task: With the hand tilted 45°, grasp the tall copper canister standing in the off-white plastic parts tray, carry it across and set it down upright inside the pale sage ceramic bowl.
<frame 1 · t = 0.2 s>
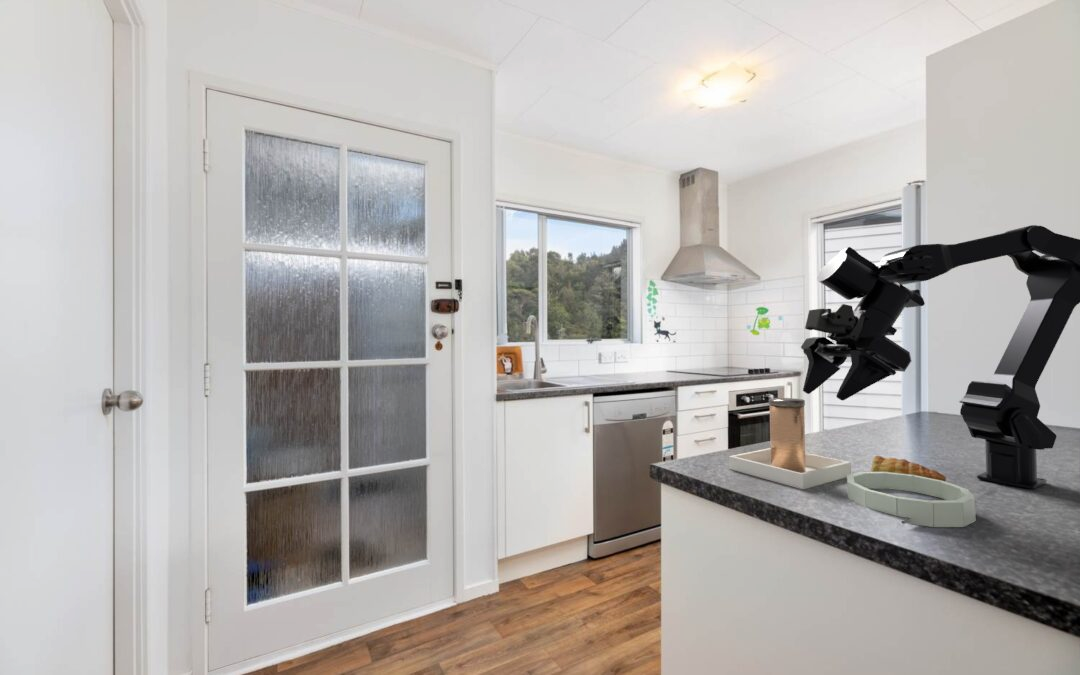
hand: (821, 395, 74), 14 cm above the counter, tool tilted 35°, fingers open, 9 cm apart
canister: (788, 472, 78), point 1 cm above the counter, touching parts tray
pastry: (901, 483, 75), on the counter
bowl: (906, 507, 63), on the counter
parts tray: (788, 476, 78), on the counter
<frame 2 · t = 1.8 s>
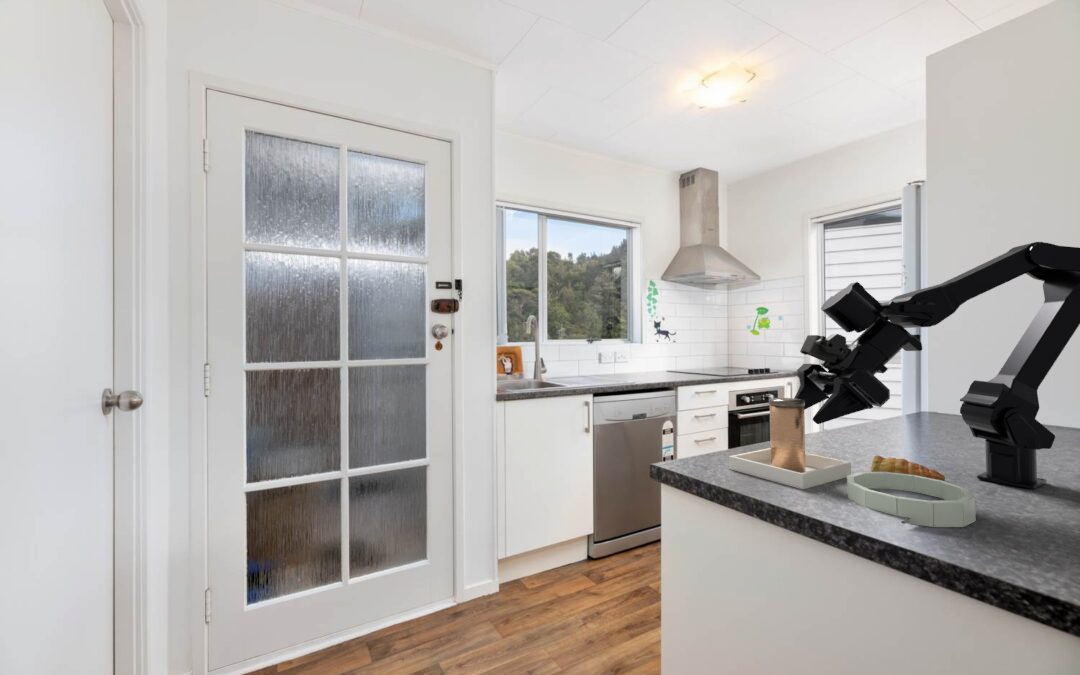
hand: (801, 417, 78), 10 cm above the counter, tool tilted 45°, fingers open, 9 cm apart
nothing on the counter moved.
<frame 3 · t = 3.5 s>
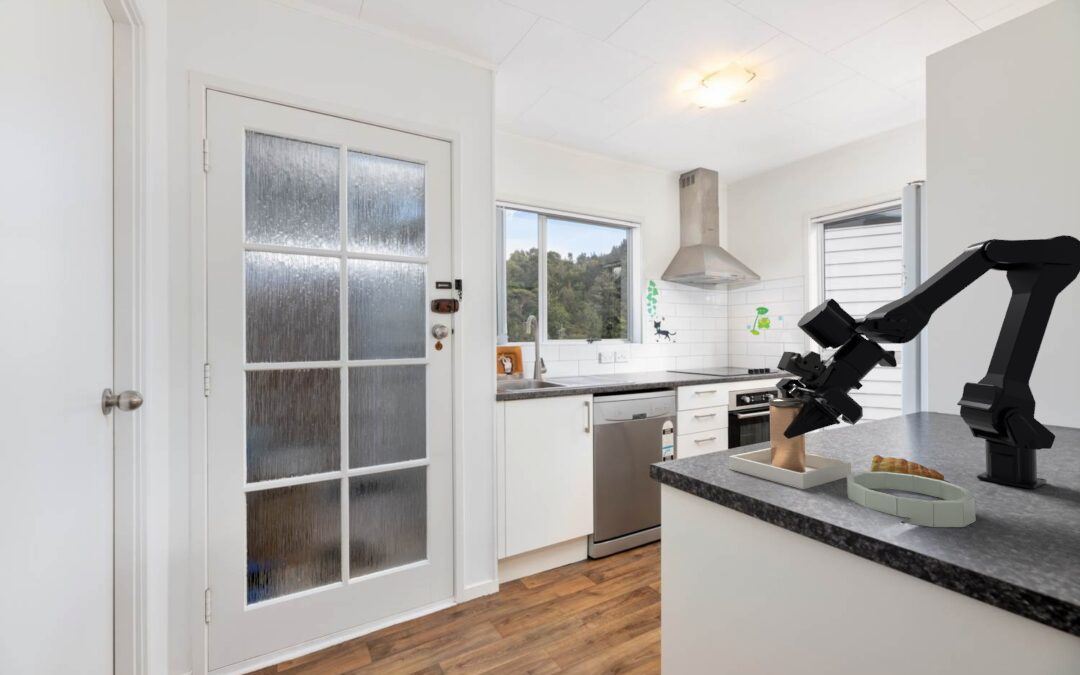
hand: (778, 433, 78), 7 cm above the counter, tool tilted 45°, fingers closed on canister, 5 cm apart
canister: (788, 472, 78), point 1 cm above the counter, touching gripper, parts tray
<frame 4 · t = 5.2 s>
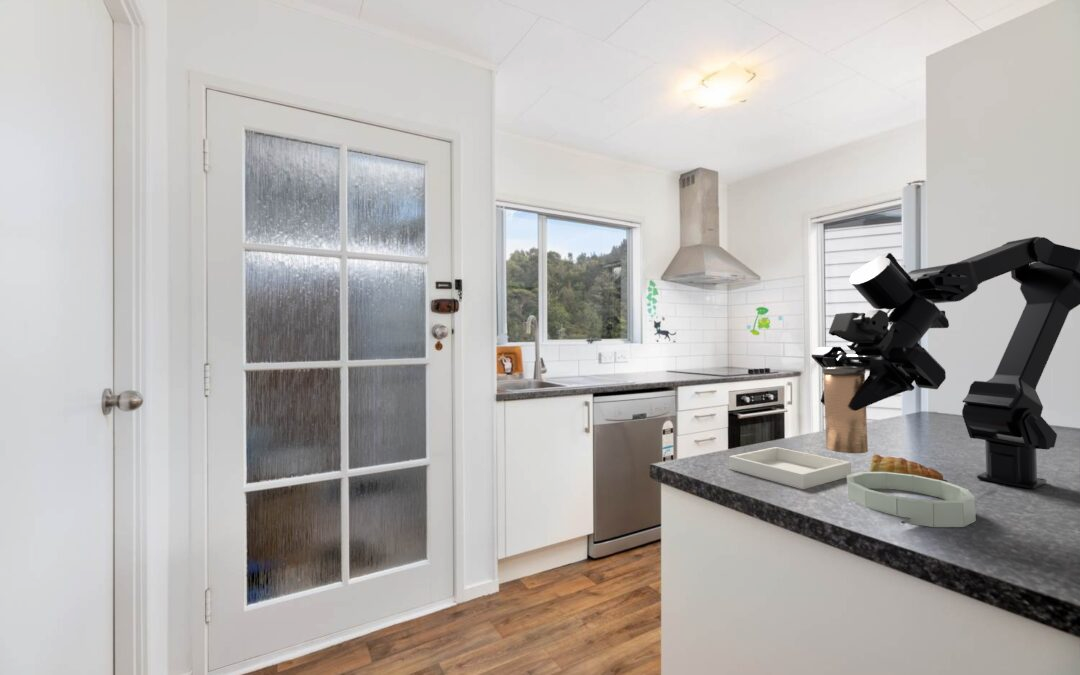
hand: (837, 406, 69), 13 cm above the counter, tool tilted 45°, fingers closed on canister, 5 cm apart
canister: (846, 449, 69), point 7 cm above the counter, touching gripper
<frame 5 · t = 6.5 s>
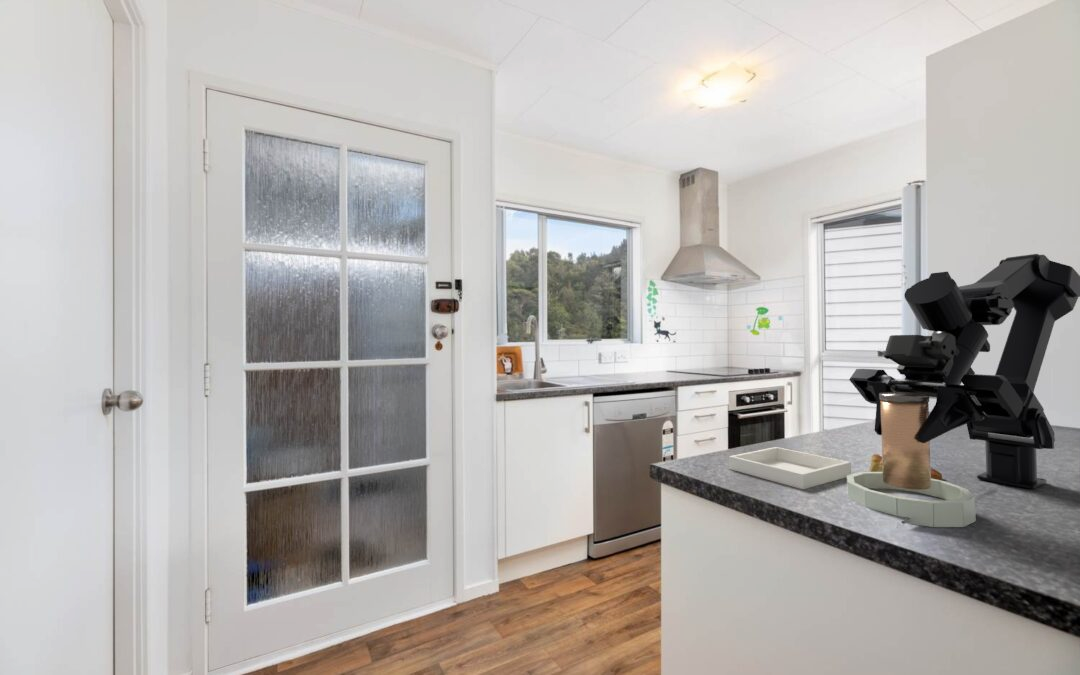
hand: (898, 436, 63), 10 cm above the counter, tool tilted 45°, fingers closed on canister, 5 cm apart
canister: (906, 483, 63), point 3 cm above the counter, touching gripper
when the fingers open (8 cm above the counter, at t = 7.2 s): canister drops 1 cm, resting on bowl.
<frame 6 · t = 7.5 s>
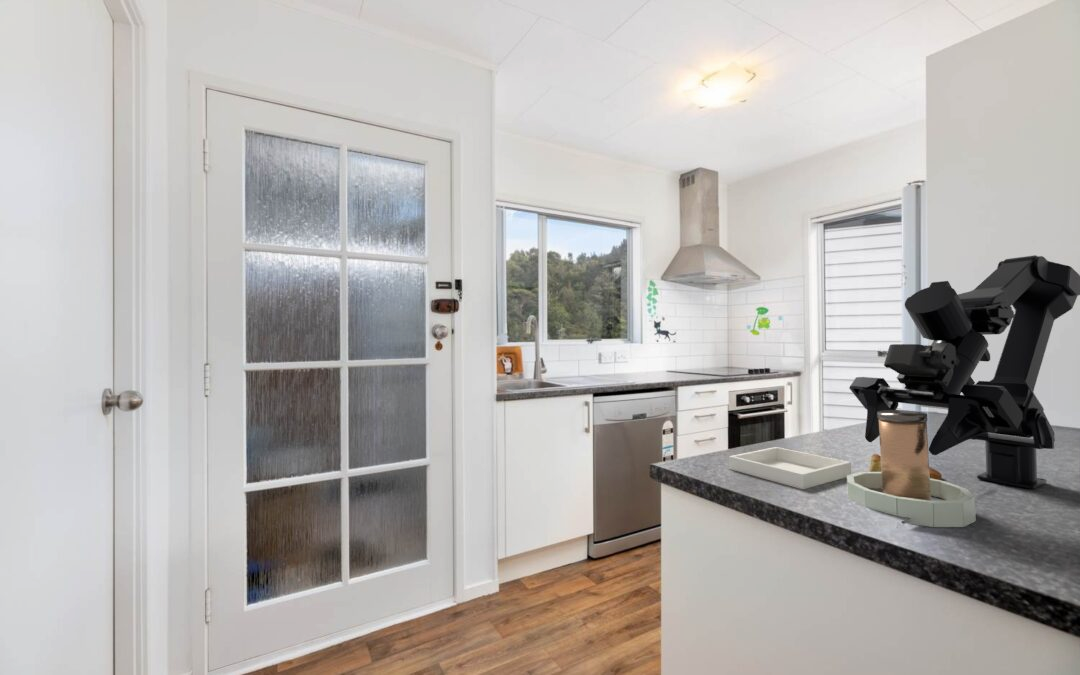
hand: (897, 446, 63), 9 cm above the counter, tool tilted 45°, fingers open, 8 cm apart
canister: (906, 502, 63), point 1 cm above the counter, touching bowl
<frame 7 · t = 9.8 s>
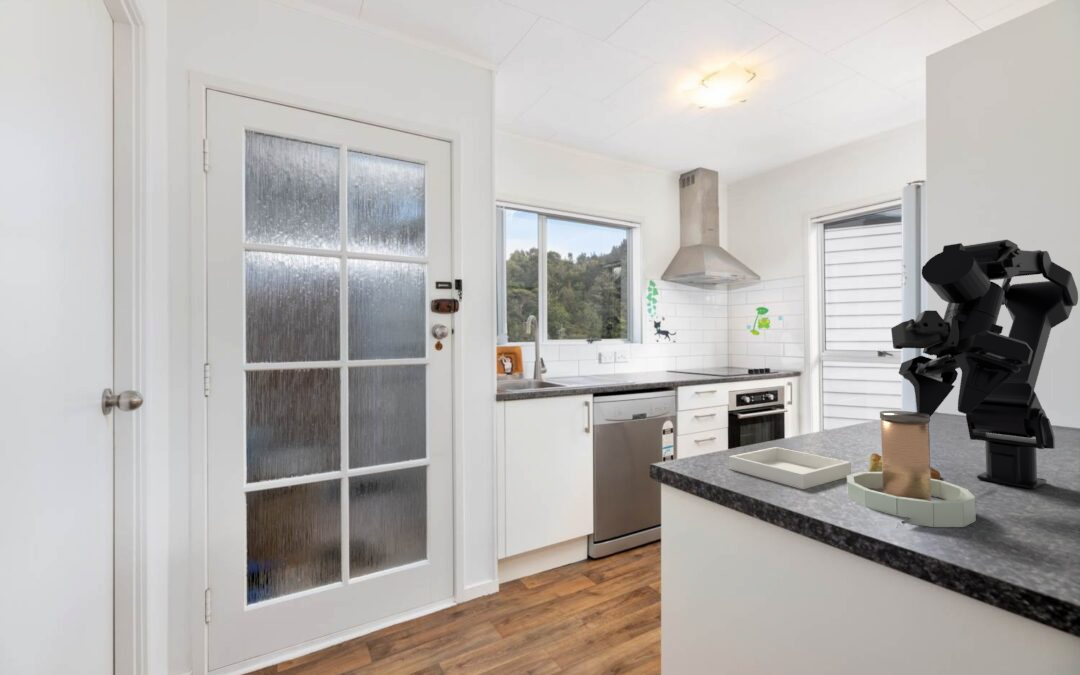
hand: (941, 416, 65), 12 cm above the counter, tool tilted 25°, fingers open, 9 cm apart
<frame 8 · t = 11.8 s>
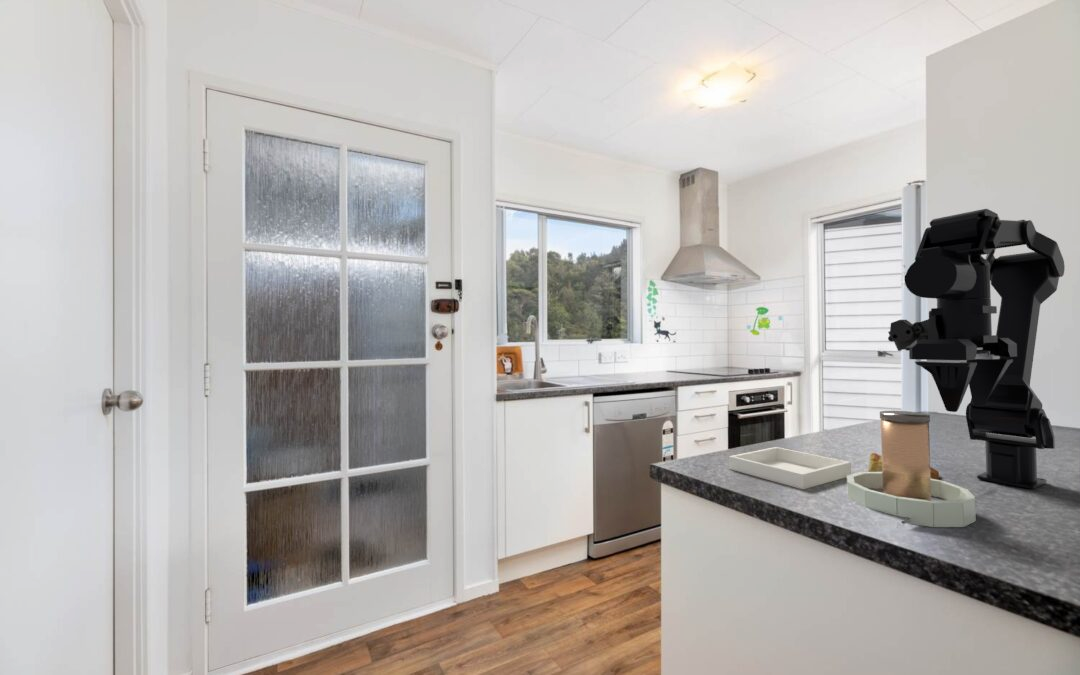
hand: (965, 408, 66), 13 cm above the counter, tool pointing down, fingers open, 9 cm apart
at the end: canister inside the target area on the bowl (0.1 cm from its centre), point 0.6 cm above the bowl's base; canister tilted 0°; the gripper is holding nothing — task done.
